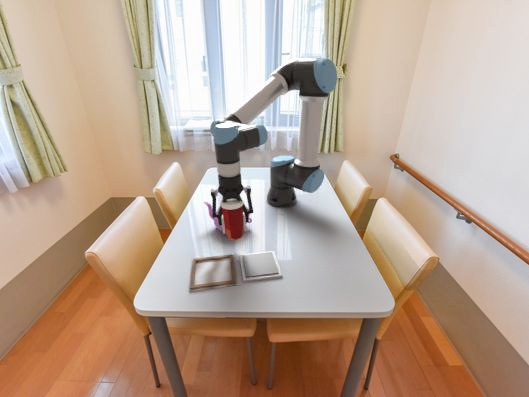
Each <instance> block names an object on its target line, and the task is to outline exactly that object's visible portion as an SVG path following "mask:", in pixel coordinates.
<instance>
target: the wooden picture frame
mask: <svg viewBox="0 0 529 397" xmlns="http://www.w3.org/2000/svg"><path fill="white" fill-rule="evenodd" d="M235 262H236V261H235V255H234V254H231V253H230V254H224V255H223V254H222V255H215V256H205V257H195V258H193V259H192V260H191V267H190V275H189V286H188V289H189V290H188V292H197V291H204V290H212V289H219V288H227V287H234V286H238V280H237V270H236V263H235Z"/></svg>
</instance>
